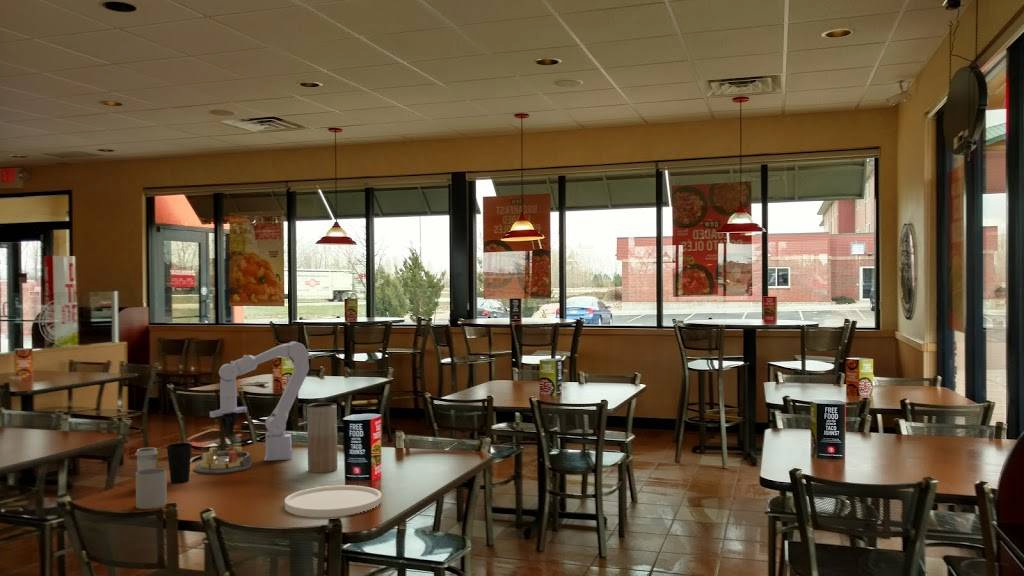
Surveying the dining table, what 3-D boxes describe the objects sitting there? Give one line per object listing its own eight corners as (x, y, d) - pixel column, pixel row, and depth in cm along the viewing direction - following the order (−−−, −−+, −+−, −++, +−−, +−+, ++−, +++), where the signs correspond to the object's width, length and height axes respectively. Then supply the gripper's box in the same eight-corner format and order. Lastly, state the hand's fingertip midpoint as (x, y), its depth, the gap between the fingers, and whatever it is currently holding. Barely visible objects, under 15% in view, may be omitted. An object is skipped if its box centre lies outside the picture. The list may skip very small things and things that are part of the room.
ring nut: (206, 460, 304) (206, 446, 304) (248, 459, 305) (248, 445, 305) (196, 469, 289) (196, 454, 289) (239, 468, 291) (239, 453, 291)
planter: (309, 474, 286) (308, 407, 285) (306, 468, 295) (305, 403, 295) (339, 471, 289) (338, 405, 289) (335, 465, 298) (334, 402, 298)
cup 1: (131, 486, 271) (130, 449, 271) (151, 482, 276) (150, 446, 276) (143, 490, 266) (142, 452, 266) (162, 485, 272) (162, 448, 272)
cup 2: (173, 502, 250) (172, 469, 250) (152, 509, 243) (152, 475, 242) (150, 500, 253) (149, 467, 253) (129, 507, 245) (129, 473, 245)
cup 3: (186, 484, 274) (185, 447, 274) (163, 484, 274) (162, 447, 274) (195, 478, 281) (195, 442, 281) (173, 478, 282) (172, 442, 282)
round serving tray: (254, 460, 308) (254, 449, 308) (247, 472, 290) (247, 460, 290) (199, 463, 305) (199, 452, 305) (189, 475, 286) (189, 463, 286)
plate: (292, 523, 228) (292, 514, 228) (278, 499, 254) (278, 491, 254) (393, 511, 239) (392, 502, 239) (369, 489, 265) (369, 481, 265)
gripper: (217, 400, 297) (218, 438, 297) (252, 395, 309) (252, 432, 309) (205, 398, 301) (206, 436, 301) (240, 394, 313) (240, 430, 313)
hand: (229, 434), depth 305 cm, fingers closed
